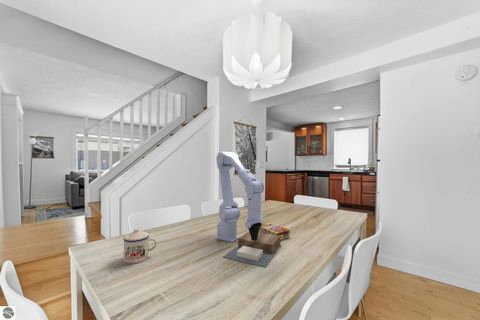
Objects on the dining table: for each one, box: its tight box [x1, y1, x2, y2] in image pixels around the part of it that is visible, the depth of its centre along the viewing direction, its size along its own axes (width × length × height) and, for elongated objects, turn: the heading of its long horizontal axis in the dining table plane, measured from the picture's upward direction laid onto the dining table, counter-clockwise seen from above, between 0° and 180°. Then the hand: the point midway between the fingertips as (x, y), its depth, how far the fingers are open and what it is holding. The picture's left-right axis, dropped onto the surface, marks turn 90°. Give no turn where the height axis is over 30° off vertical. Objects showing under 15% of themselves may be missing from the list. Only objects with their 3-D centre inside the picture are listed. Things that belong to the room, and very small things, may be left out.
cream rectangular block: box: [237, 246, 263, 261], centre depth 83 cm, size 9×6×2 cm, turn 63°
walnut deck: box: [237, 230, 281, 255], centre depth 94 cm, size 16×12×4 cm
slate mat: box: [222, 246, 275, 268], centre depth 83 cm, size 18×11×1 cm, turn 64°
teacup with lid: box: [123, 228, 158, 265], centre depth 81 cm, size 12×9×12 cm
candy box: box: [259, 222, 291, 241], centre depth 109 cm, size 9×4×15 cm
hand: (254, 240), depth 88 cm, fingers closed
